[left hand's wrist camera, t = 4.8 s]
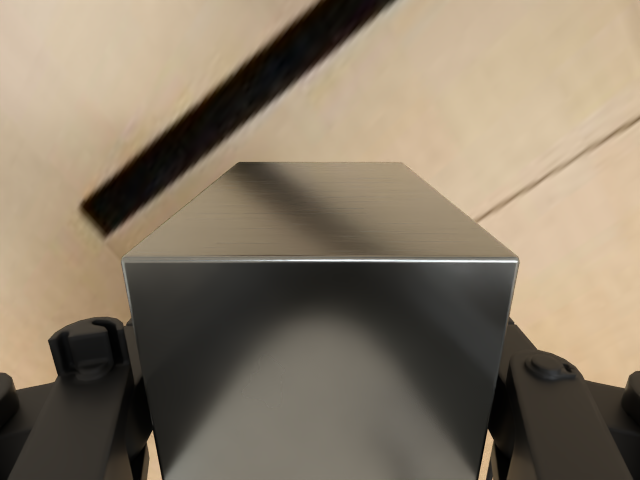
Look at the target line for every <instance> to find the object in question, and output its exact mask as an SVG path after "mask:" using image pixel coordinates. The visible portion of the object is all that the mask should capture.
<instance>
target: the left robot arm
mask: <svg viewBox="0 0 640 480" xmlns="http://www.w3.org/2000/svg"><path fill="white" fill-rule="evenodd" d="M48 342H49V346H50V349H51V353H52V356H53V360H54V363H55V367H56V370H57V374H58V377H57V379H56V381H55V382H53V383H49V384H44V385H39V386H34V387H29V388H24V389H19V390H16V389H15V386H14V383H13V380H12V377H10V376H9V375H7V374H6V373H0V480H147V474H148V466H149V452H148V447H147V440H148V438H149V436H150V434H151V432H152V430H153V428H152V423H151V417H150V412H149V407H148V402H147V396H146V391H145V386H144V381H143V375H142V370H141V365H140V359H139V354H138V349H137V344H136V338H135V333H134V328H133V323H132V318H131V319H130V320H129V321H128V322H127V324H126V326H123V323H122V322H121V321H119V320H118V319H116V318H111V317H94V318H90V319H85V320H80V321H78V322H75V323H73V324H70V325H67V326H65V327H64V328H62V329H60V330H59V331H57V332H55V333H54V334H53V336H52V337H51V338H50V339H49V340H48ZM488 430H489V431H490V433H491V435H492V437H493V439H494V441H493V446H492V452H491V457H490V462H489V467H488V472H487V477H486V480H492V478H493V480H640V371H635V372H634V373H632V374H631V375H630V376H629V378H628V381H627V384H626V387H625V388H620V387H615V386H610V385H605V384H600V383H595V382H591V381H587V380H584V378H583V376H582V374H581V373H580V372H579V371H578V369H577V368H576V367H575V366H574V365H572V364H571V363H569V362H568V361H567V360H565V359H563V358H561V357H559V356H556V355H554V354H552V353H548V352H544V351H540V350H537V348H536V347H535V346H534V345H533V344H532V343H531V341H530V340H529V339H528V338H527V337H526V336H525V334H524V333H523V332H522V331H521V330H520V329H519V327H518V326H517V325H514V322H513V320H512V319H511V318H510V317H509V320H508V325H507V330H506V336H505V341H504V346H503V351H502V357H501V362H500V367H499V372H498V378H497V383H496V388H495V393H494V399H493V404H492V409H491V414H490V420H489V425H488Z"/></svg>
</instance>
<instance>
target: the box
mask: <svg viewBox="0 0 640 480" xmlns="http://www.w3.org/2000/svg"><path fill="white" fill-rule="evenodd" d="M121 265H122V270H123V275H124V280H125V286H126V291H127V296H128V302H129V307H130V312H131V317H132V323H133V328H134V333H135V338H136V344H137V349H138V354H139V359H140V365H141V370H142V375H143V381H144V386H145V391H146V396H147V402H148V407H149V412H150V417H151V423H152V428H153V433H154V439H155V444H156V449H157V454H158V460H159V465H160V470H161V475H162V480H478V478H479V472H480V467H481V462H482V457H483V451H484V446H485V441H486V435H487V430H488V425H489V420H490V414H491V409H492V404H493V399H494V393H495V388H496V383H497V378H498V372H499V367H500V362H501V357H502V351H503V346H504V341H505V336H506V330H507V325H508V320H509V315H510V309H511V304H512V299H513V294H514V288H515V283H516V278H517V273H518V267H519V258H518V256H517V255H515V254H514V253H513V252H512V251H511V250H509V249H508V248H507V247H506V246H504V245H503V244H502V243H501V242H499V241H498V240H497V239H496V238H494V237H493V236H492V235H491V234H490V233H488V232H487V231H486V230H485V229H483V228H482V227H481V226H480V225H478V224H477V223H476V222H475V221H474V220H472V219H471V218H470V217H469V216H467V215H466V214H465V213H464V212H462V211H461V210H460V209H459V208H458V207H456V206H455V205H454V204H453V203H451V202H450V201H449V200H448V199H446V198H445V197H444V196H443V195H442V194H440V193H439V192H438V191H437V190H435V189H434V188H433V187H432V186H430V185H429V184H428V183H427V182H426V181H424V180H423V179H422V178H421V177H419V176H418V175H417V174H416V173H414V172H413V171H412V170H411V169H409V168H408V167H407V166H406V165H405V164H403V163H402V162H239V163H237V164H236V165H234V166H233V167H232V168H231V169H230V170H228V171H227V172H226V173H225V174H223V175H222V176H221V177H220V178H218V179H217V180H216V181H215V182H214V183H212V184H211V185H210V186H209V187H207V188H206V189H205V190H204V191H202V192H201V193H200V194H199V195H198V196H196V197H195V198H194V199H193V200H191V201H190V202H189V203H188V204H187V205H185V206H184V207H183V208H182V209H180V210H179V211H178V212H177V213H175V214H174V215H173V216H172V217H171V218H169V219H168V220H167V221H166V222H164V223H163V224H162V225H161V226H159V227H158V228H157V229H156V230H155V231H153V232H152V233H151V234H150V235H148V236H147V237H146V238H145V239H143V240H142V241H141V242H140V243H139V244H137V245H136V246H135V247H134V248H132V249H131V250H130V251H129V252H128V253H126V254H125V255H124V256H123V257H122V260H121Z"/></svg>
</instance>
